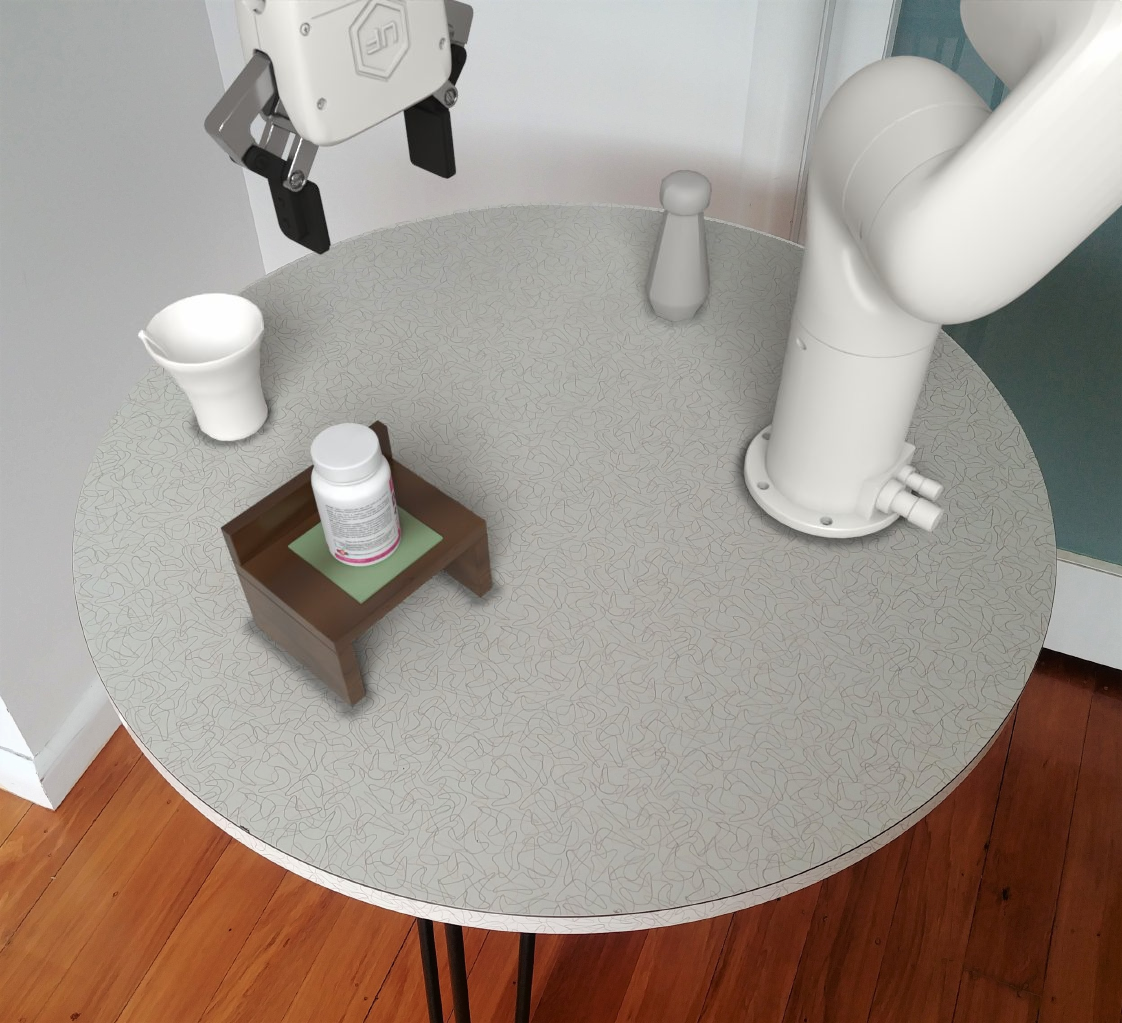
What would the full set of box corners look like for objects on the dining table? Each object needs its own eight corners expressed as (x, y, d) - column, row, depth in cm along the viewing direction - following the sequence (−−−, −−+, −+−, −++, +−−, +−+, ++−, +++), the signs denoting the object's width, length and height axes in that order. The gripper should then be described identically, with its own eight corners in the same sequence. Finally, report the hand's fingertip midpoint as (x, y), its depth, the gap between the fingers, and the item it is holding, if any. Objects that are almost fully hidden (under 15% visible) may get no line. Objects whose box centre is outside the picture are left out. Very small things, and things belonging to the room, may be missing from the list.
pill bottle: (417, 541, 68) (401, 445, 62) (357, 581, 66) (334, 486, 60) (373, 502, 70) (353, 406, 64) (313, 539, 68) (287, 444, 62)
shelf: (492, 587, 75) (483, 488, 67) (352, 707, 68) (325, 612, 61) (395, 519, 79) (377, 419, 72) (255, 625, 72) (219, 527, 65)
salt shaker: (647, 286, 99) (655, 157, 89) (709, 292, 98) (724, 163, 89) (640, 324, 95) (647, 193, 85) (704, 330, 94) (719, 199, 85)
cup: (180, 392, 89) (145, 293, 82) (292, 383, 90) (267, 284, 82) (166, 466, 83) (127, 366, 76) (286, 455, 84) (259, 356, 76)
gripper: (210, -61, 41) (300, 303, 54) (506, -170, 50) (524, 164, 63) (99, -99, 44) (208, 251, 57) (395, -195, 53) (432, 126, 66)
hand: (373, 205), depth 60 cm, fingers open, 9 cm apart
